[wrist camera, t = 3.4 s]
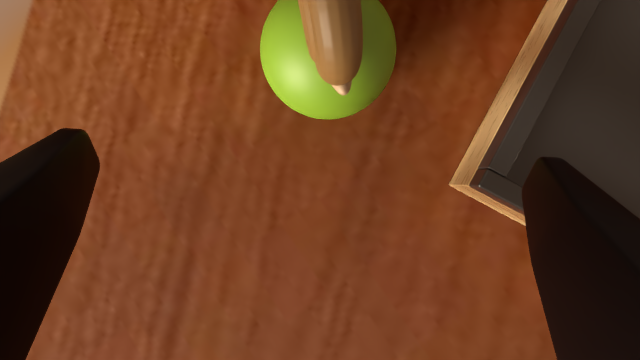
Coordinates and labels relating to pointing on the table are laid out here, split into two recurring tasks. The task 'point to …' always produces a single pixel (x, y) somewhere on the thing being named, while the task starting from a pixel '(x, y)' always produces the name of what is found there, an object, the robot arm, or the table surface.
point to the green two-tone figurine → (328, 54)
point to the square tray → (564, 107)
